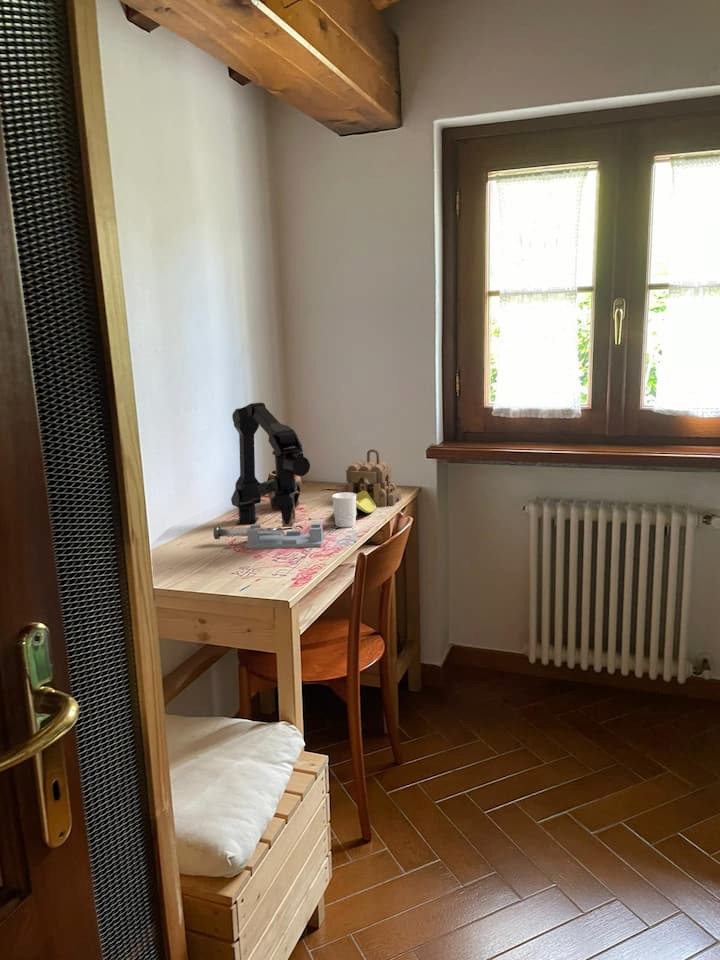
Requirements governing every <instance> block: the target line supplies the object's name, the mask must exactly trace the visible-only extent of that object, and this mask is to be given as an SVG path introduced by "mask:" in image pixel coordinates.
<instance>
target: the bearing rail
mask: <svg viewBox="0 0 720 960" xmlns="http://www.w3.org/2000/svg"><path fill="white" fill-rule="evenodd" d="M249 528H262V526H261V524H250V526H249ZM323 528H324V526H323V523H321V522H317V523H316V522H315V523H311V524H310V527H309V528H308V533H303V534H302V531H301V530H287V531H286V534H282V535H271V536H258V529H248V530H247V536H246V537H247V542H246V543H245V545H244V548H245V549H278V548H279V549H282V548H283V549H284V548H285V549H286V548H321V547H322V544H323V541H324V539H325V533H324V529H323Z"/></svg>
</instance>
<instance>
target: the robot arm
mask: <svg viewBox="0 0 720 960" xmlns="http://www.w3.org/2000/svg"><path fill="white" fill-rule="evenodd" d="M231 415H232V416H231V417H232V422H233V427H234V429H236V431H237V433H238V436H239V437H238V439H239V442H238V443H239V477H238V478H237V480H236V482H235V487H234V488H235V490H234V491H233V494H232V496H231V499H230V500H231V505H232V506H234V507H236V508H237V511H238V520H237V521H236V525H256V523H257V522H258V520H259V519H260V517H259V516H257V515H256V505H257V504H261V499H262V497H264V496H266V495H268V493H271V492H273V491H275V493H276V494H275V495H274V496H273V498H272V505H273V506H277V507H278V508H279V509H280V510H279V511H280V513H281V517H282V516H283V519H284V522H285V524H289V521H290V518H291V514H292V511H293V508H294V504H295V507H296V504H297V501H298V500H299V498H300V495H301V491H302V483H301V484H300V483H299V482H296V479H295V477H296V475H297V476H299V477H303V476H305V475H307V474H308V473H309V471H310V468H311V463H310V461H309V460H308V458H306V457H304V451H303V445H302V443H301V442H300V439H299V437H298V435H297V433H296V432H295V430H294V429H293V428H292V427H290V426H289V425H287V424H286V425H285V424H282V423H281V422H280V421H279V420H278V419H277V418H276V417H275V416H274V415H273V414H272V412H270V411H269V410H268V408H267V407H266V404H265V403H264V402H262V401H261V402H251V403H249V404H247V405H246V406H243V407H239V408H236V409H235V410H234V411H233V412H232V414H231ZM260 427H261V428H262V429H263V430H264V431H265V433H266V434H267V435H268V442H269V444H270V446H271V448H272V449H273V451H272V456H274V462H275V470H276V475H275V477H274V479H271V480H269V481H267V480H266V481H263V482H259V480H258V479H257V477H256V469H255V466H256V465H255V464H256V463H255V461H256V459H255V434H256V433H257V431H258V429H259V428H260ZM296 490H298V493H295V491H296ZM296 508H297V507H296Z"/></svg>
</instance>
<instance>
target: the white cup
mask: <svg viewBox="0 0 720 960" xmlns="http://www.w3.org/2000/svg"><path fill="white" fill-rule="evenodd" d="M331 497H332V505H333V506H332V507H333V508H332V509H333V517H334V522H335V526H337V527H339V528H351V527H354V526H356V524H357V520H356V519H357V515H356V512H357V507H356V494H355V493H350V492H343V493H336V492H335V493H333V494H332V496H331Z"/></svg>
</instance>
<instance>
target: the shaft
mask: <svg viewBox="0 0 720 960" xmlns="http://www.w3.org/2000/svg"><path fill="white" fill-rule="evenodd" d="M248 529H258V536H271V535H284V529H283V527H261V528H250V527H247V528H246V527H245V528H244V527H243V528H242V527H241V528H221V526H219V525H218V526H214V527H213V538H214V540H220V539H221V537H223V538H224V537H247V530H248Z"/></svg>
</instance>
